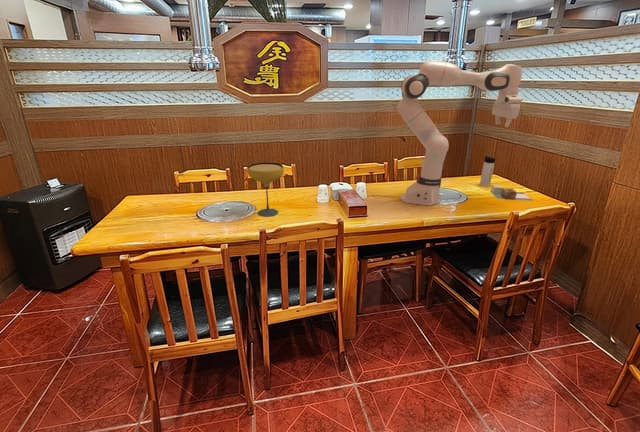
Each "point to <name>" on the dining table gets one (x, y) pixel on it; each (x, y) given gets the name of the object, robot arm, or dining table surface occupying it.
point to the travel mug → (487, 171)
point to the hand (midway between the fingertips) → (501, 125)
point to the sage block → (496, 189)
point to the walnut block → (509, 194)
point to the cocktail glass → (266, 180)
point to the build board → (518, 197)
